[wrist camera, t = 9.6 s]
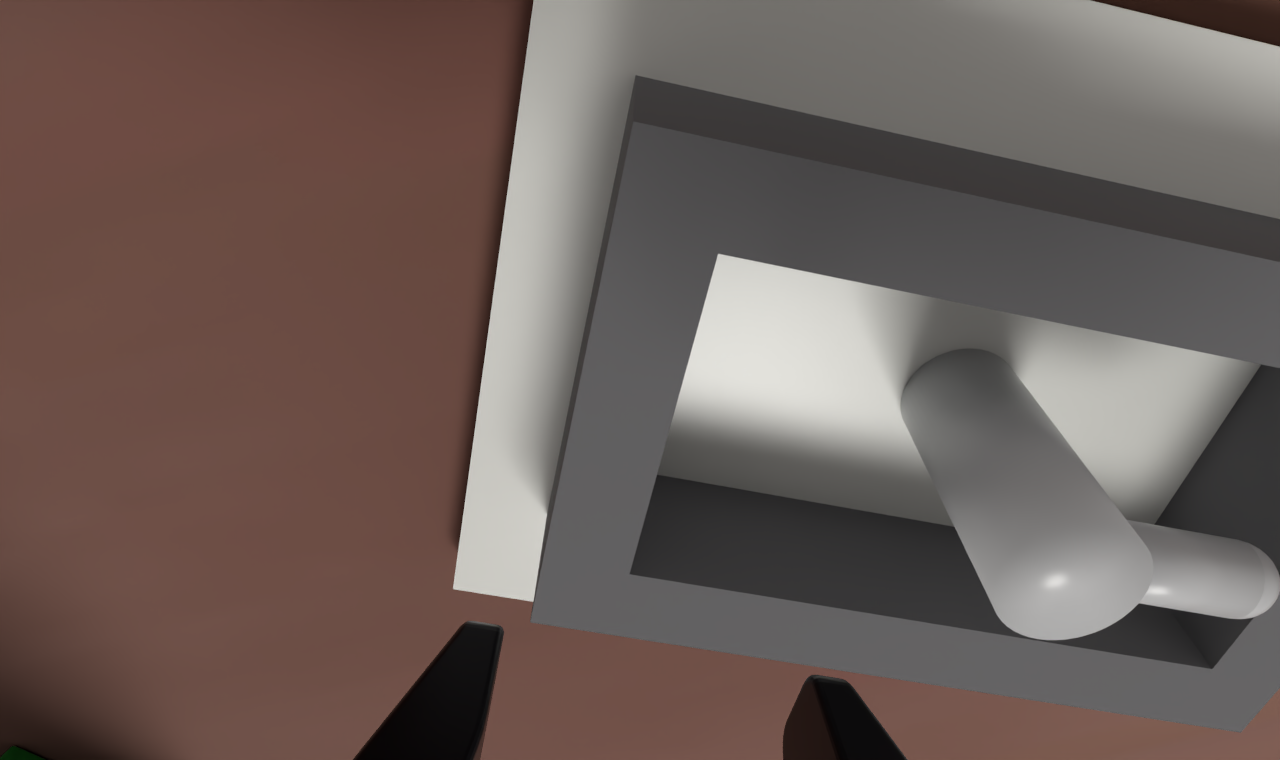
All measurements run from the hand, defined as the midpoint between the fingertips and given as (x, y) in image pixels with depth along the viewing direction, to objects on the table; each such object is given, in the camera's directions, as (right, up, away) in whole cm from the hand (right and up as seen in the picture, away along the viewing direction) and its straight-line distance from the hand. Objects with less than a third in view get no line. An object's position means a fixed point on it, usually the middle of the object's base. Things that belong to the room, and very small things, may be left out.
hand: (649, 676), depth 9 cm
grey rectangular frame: (+6, +3, +7) cm, 10 cm away
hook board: (+6, +3, +8) cm, 11 cm away
